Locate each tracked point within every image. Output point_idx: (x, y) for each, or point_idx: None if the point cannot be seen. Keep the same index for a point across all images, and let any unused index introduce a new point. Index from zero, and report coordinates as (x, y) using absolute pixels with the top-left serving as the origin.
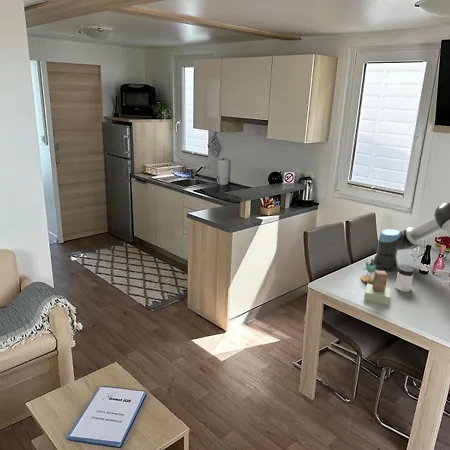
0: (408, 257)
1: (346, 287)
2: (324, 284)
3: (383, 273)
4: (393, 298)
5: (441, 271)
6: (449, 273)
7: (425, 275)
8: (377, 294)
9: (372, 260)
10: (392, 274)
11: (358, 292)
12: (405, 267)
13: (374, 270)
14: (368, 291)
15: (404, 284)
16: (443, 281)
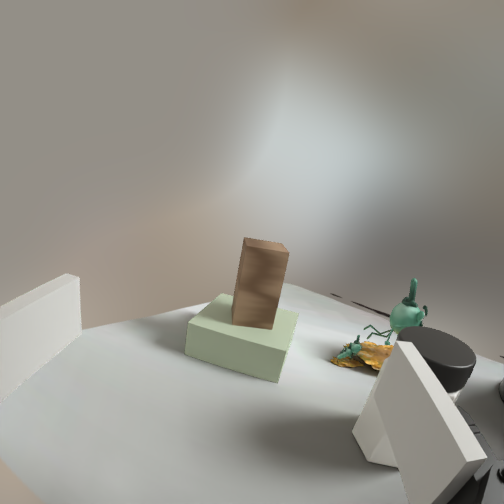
0: None
1: (298, 315)
2: (295, 293)
3: (258, 244)
4: (254, 387)
5: (414, 383)
6: (447, 480)
7: None
8: (210, 306)
9: (412, 283)
10: (496, 420)
11: None
12: (452, 344)
13: (400, 325)
14: (230, 299)
15: (369, 408)
16: (65, 277)
